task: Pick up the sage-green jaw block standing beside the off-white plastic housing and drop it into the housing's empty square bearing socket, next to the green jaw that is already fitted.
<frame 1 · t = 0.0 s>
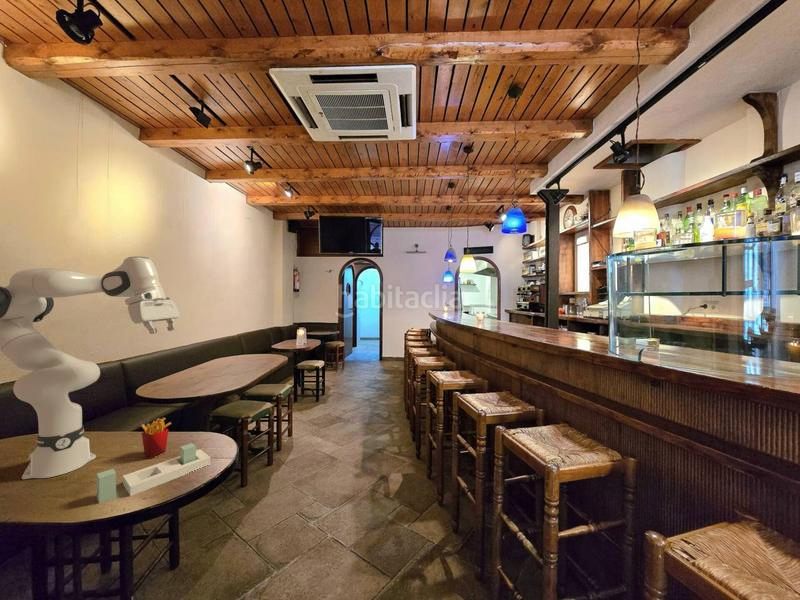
hand: (163, 331, 118), 52 cm above the table, tool tilted 20°, fingers open, 8 cm apart
french fries: (158, 454, 128), on the table
housing: (169, 474, 114), on the table
jaw: (106, 497, 101), on the table
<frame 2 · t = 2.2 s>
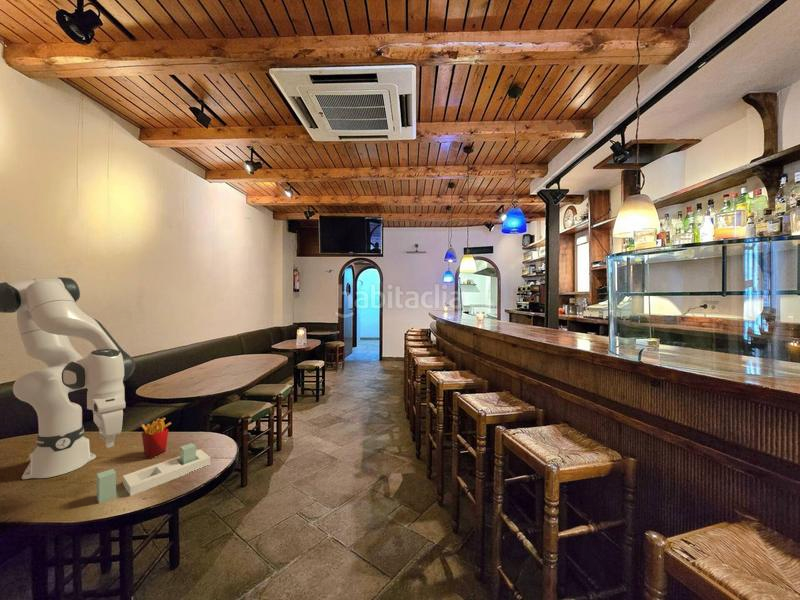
hand: (106, 442, 100), 18 cm above the table, tool pointing down, fingers open, 8 cm apart
nothing on the table moved.
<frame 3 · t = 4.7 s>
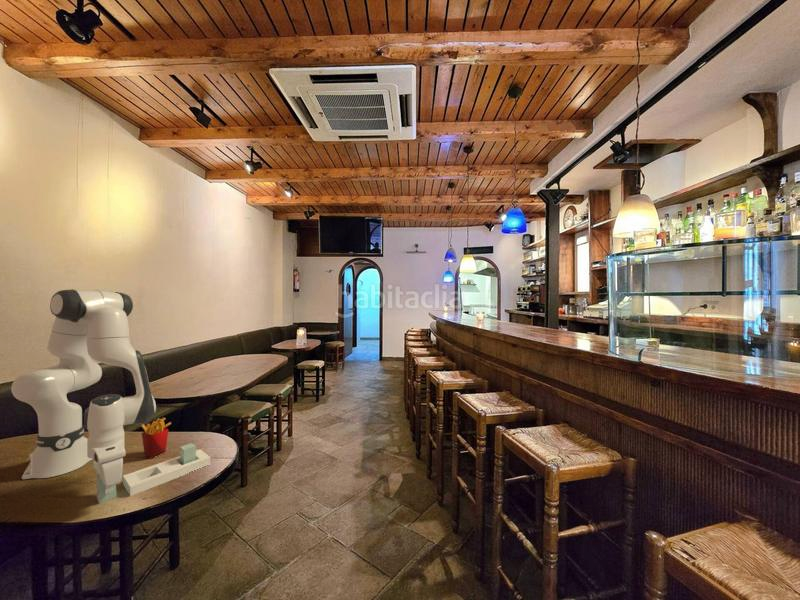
hand: (106, 488, 101), 3 cm above the table, tool pointing down, fingers closed on jaw, 4 cm apart
jaw: (106, 497, 101), on the table, touching gripper
everything else where it was.
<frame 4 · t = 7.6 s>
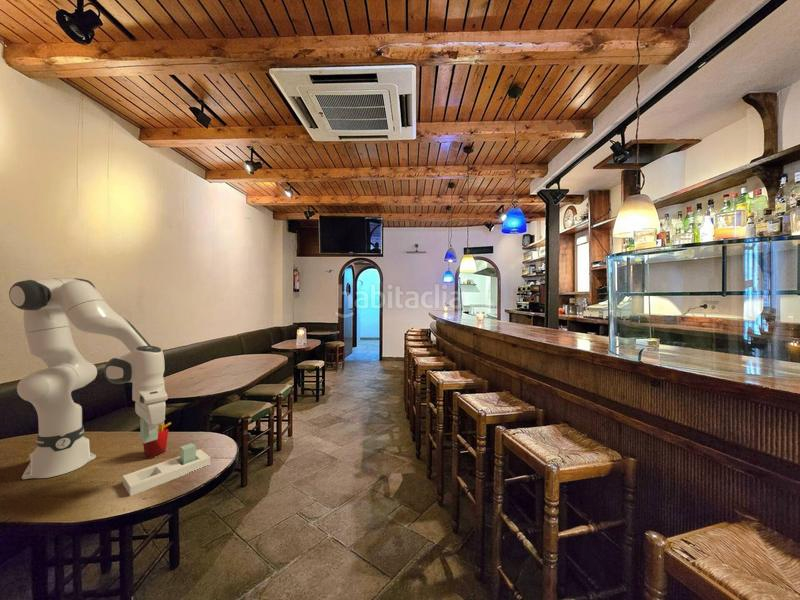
hand: (149, 431, 109), 18 cm above the table, tool pointing down, fingers closed on jaw, 4 cm apart
jaw: (149, 439, 109), point 15 cm above the table, touching gripper
everything else where it was.
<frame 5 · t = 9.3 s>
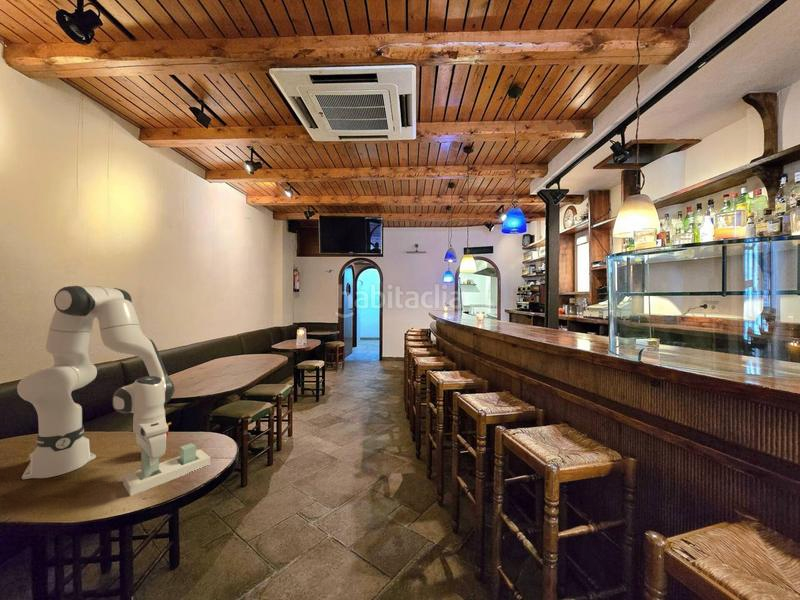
hand: (149, 462, 109), 7 cm above the table, tool pointing down, fingers closed on jaw, 4 cm apart
jaw: (150, 470, 110), point 4 cm above the table, touching gripper
everything else where it was.
when the fingers open (5 cm above the table, at t = 10.6 s): jaw drops 2 cm, resting in housing.
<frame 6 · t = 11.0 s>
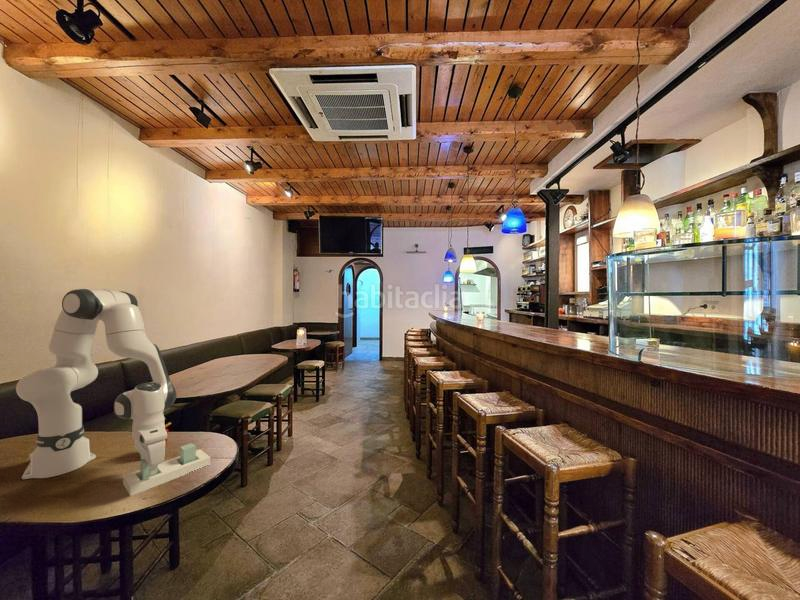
hand: (148, 468, 109), 5 cm above the table, tool pointing down, fingers open, 8 cm apart
jaw: (149, 481, 109), resting in housing
everything else where it was.
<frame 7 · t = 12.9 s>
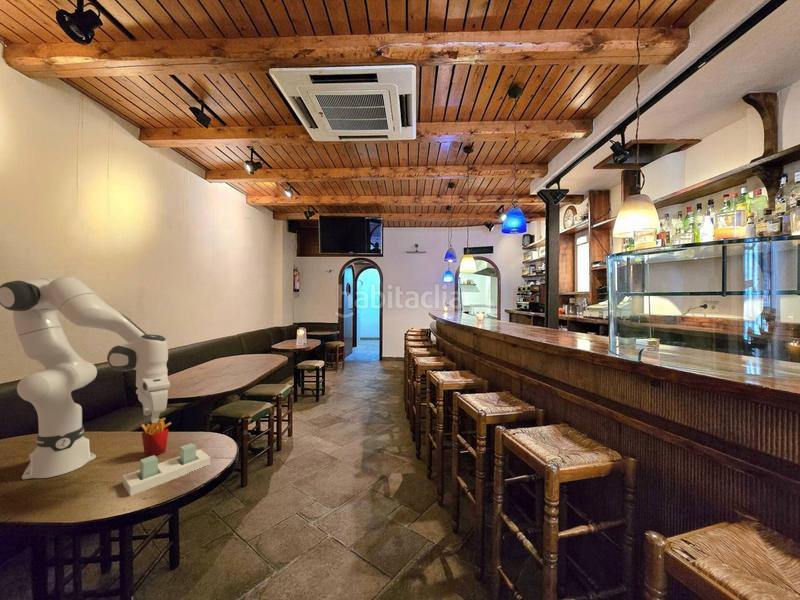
hand: (150, 418, 111), 22 cm above the table, tool pointing down, fingers open, 8 cm apart
nothing on the table moved.
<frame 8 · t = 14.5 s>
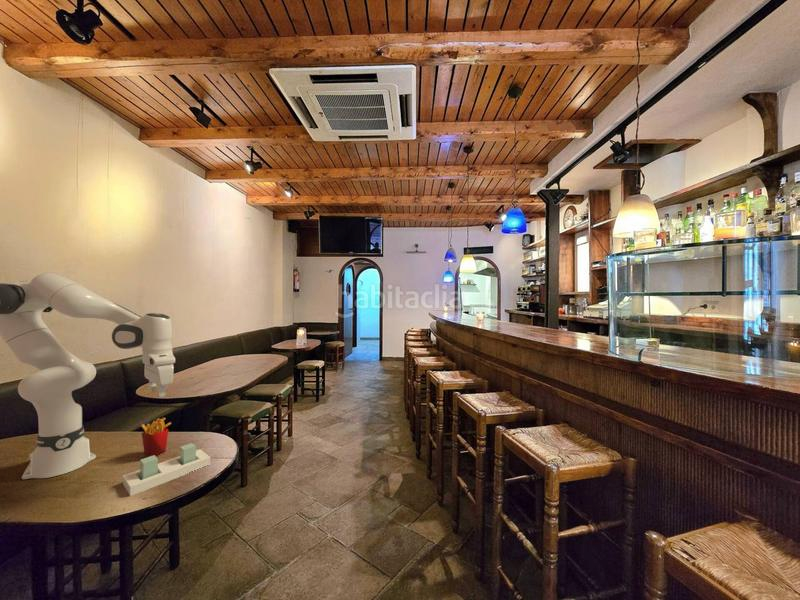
hand: (157, 393, 116), 29 cm above the table, tool pointing down, fingers open, 8 cm apart
nothing on the table moved.
at the end: jaw 0.1 cm from the target spot on the housing, point 0.0 cm above the housing's base; jaw tilted 0°; the gripper is holding nothing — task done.
